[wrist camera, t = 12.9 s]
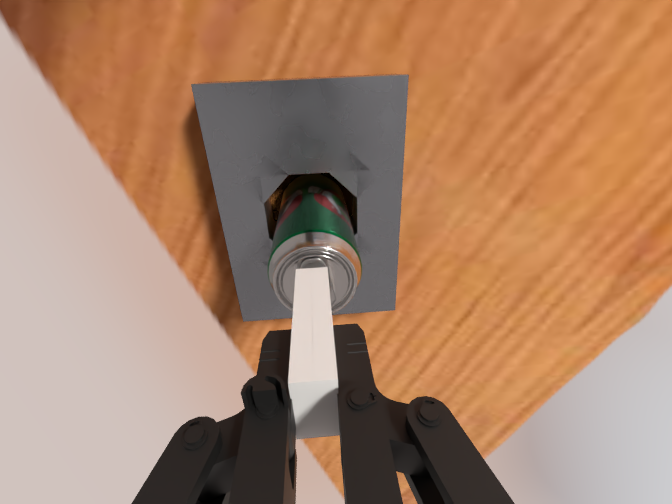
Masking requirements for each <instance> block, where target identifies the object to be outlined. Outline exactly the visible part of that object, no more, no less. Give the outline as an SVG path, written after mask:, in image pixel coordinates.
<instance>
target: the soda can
mask: <svg viewBox="0 0 672 504" xmlns="http://www.w3.org/2000/svg"><path fill="white" fill-rule="evenodd" d="M319 267H328V278H329V289H330V299H331V310H332V314H333V313H335V312H337V311H339V310H340V309H342V308H343V307H345V306H346V305H347V304H348V303H349V302H350V300H351V299H352V298H353V296H354V294H355V292H356V289H357V287H358V285H359V283H360V280H361V276H362V263H361V258H360V254H359V251H358V247H357V243H356V240H355V236H354V232H353V229H352V225H351V221H350V218H349V214H348V210H347V207H346V203H345V199H344V196H343V193H342V191H341V189H340V187H339V186H338V185H337V184H336V183H335V182H334V181H333V180H331V179H330V178H328V177H326V176H324V175H320V174H306V175H302V176H300V177H298V178H296V179H294V180H293V181H292V182H291V183H290V184H289V185H288V186H287V187H286V189H285V191H284V193H283V196H282V201H281V206H280V210H279V215H278V220H277V224H276V229H275V234H274V238H273V243H272V248H271V252H270V257H269V262H268V270H267V273H268V279H269V282H270V285H271V287H272V288H273V290H274V291H275V294H276V296H277V298H278V300H279V301H280V302H281V303H282V304H283V305H284V306H285V307H286V308H287V309H289V310H290V311H292V312H293V302H294V287H295V273H296V269H305V268H319Z"/></svg>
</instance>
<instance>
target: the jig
mask: <svg viewBox="0 0 672 504" xmlns="http://www.w3.org/2000/svg"><path fill="white" fill-rule="evenodd" d="M408 77H409V75H406V74H386V75H364V76H341V77H319V78H296V79H274V80H251V81H229V82H207V83H198V84H191V86H192V91H193V95H194V100H195V104H196V109H197V113H198V118H199V122H200V127H201V131H202V136H203V141H204V145H205V150H206V154H207V159H208V163H209V168H210V172H211V177H212V182H213V186H214V191H215V195H216V200H217V204H218V209H219V213H220V218H221V223H222V227H223V232H224V236H225V241H226V245H227V250H228V254H229V259H230V264H231V268H232V273H233V277H234V282H235V286H236V291H237V295H238V300H239V304H240V309H241V314H242V318H243V321H257V320H270V319H283V318H292V317H293V312H292V311H290V310H289V309H287V308H286V307H285V306H284V305H283V304H282V303H281V302H280V301H279V300H278V298H277V296H276V294H275V291H274V290H273V288H272V287H271V285H270V282H269V279H268V273H267V270H268V262H269V257H270V252H271V248H272V243H273V238H274V234H275V229H276V224H277V222H276V221H274V219H273V212H272V205H271V198H270V196H271V195H272V194H273V192H274V191H275V190H276V189H277V188H278V187H279V185H280V184H281V183H282V182H283V181H284V180H285V178H286V177H287V176H288V175H293V174H311V173H328V172H329V173H330V174H331V175H332V176H333V177H334V178H336V179H337V180H338V181H339V182H340V183H341V184H342V185H343V186H345V187H346V188H347V189H348V190H349V191H350V192H351V193H352V216H351V217H350V221H351V225H352V229H353V232H354V236H355V240H356V243H357V247H358V251H359V254H360V258H361V263H362V276H361V280H360V283H359V285H358V287H357V289H356V292H355V294H354V296H353V298H352V299H351V300H350V302H349V303H348V304H347V305H346V306H345V307H343V308H342V309H340V310H339V311H337V312H335V313H333V314H332V315H337V314H350V313H363V312H377V311H390V310H395V301H396V284H397V266H398V249H399V232H400V215H401V198H402V180H403V163H404V146H405V129H406V112H407V94H408Z"/></svg>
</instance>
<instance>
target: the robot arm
mask: <svg viewBox="0 0 672 504" xmlns="http://www.w3.org/2000/svg"><path fill="white" fill-rule="evenodd" d="M241 395H242V399H243V403H244V407H245V409H243V410H242V411H241V412H239V413H238V414H236V415H234V416H232V417H230V418H227V419H225V420H222V421H219V422H216V421H215V420H214V419H212V418H209V417H197V418H194V419H192V420H189V421H188V422H186V423H185V424H183V425H182V426H181V427H180V428H179V429H178V431H177V432H176V433H175V434H174V436H173V437H172V439H171V441H170V442H169V444H168V446H167V447H166V449H165V450H164V452H163V454H162V455H161V457H160V458H159V460H158V462H157V463H156V465H155V467H154V468H153V470H152V471H151V473H150V475H149V477H148V478H147V480H146V481H145V483H144V484H143V486H142V488H141V489H140V491H139V493H138V494H137V496H136V497H135V499H134V501H133V502H132V504H295V499H296V498H295V497H296V466H297V463H296V462H297V455H296V449H295V440H296V438H297V439H304V438H315V437H326V436H337V435H340V444H341V463H342V472H343V484H344V497H345V504H403V502H402V497H401V492H400V488H399V483H398V478H397V474H396V471H398V472H401V473H404V475H405V477H406V479H407V482H408V484H409V486H410V488H411V490H412V492H413V494H414V496H415V499H416V501H417V503H418V504H514V502H513V501H512V499H511V498H510V497H509V495H508V494H507V492H506V491H505V489H504V488H503V487H502V485H501V483H500V482H499V481H498V479H497V478H496V477H495V475H494V473H493V472H492V471H491V469H490V468H489V466H488V465H487V464H486V462H485V461H484V459H483V458H482V456H481V455H480V453H479V452H478V450H477V449H476V448H475V446H474V445H473V443H472V442H471V440H470V439H469V438H468V436H467V435H466V433H465V432H464V430H463V429H462V427H461V426H460V425H459V423H458V422H457V420H456V419H455V417H454V416H453V415H452V413H451V412H450V410H449V409H448V408H447V407H446V406H445V405H444V404H443V403H442V402H441V401H439V400H437V399H435V398H432V397H427V396H424V397H417V398H416V399H414V400H412V401H411V402H410V403H409V404H406V403H401V402H396V401H393V400H390V399H388V398H386V397H385V396H383V395H382V394H381V393H380V392H379V391H378V389H377V388H376V386H375V383H374V378H373V374H372V369H371V364H370V359H369V354H368V350H367V345H366V340H365V335H364V332H363V330H362V329H361V328H360V327H359V326H358V324H345V325H333V321H332V310H331V299H330V289H329V278H328V267H319V268H305V269H296V273H295V287H294V302H293V317H292V329H290V330H277V331H269V332H268V334H267V335H266V337H265V338H264V339H263V342H262V347H261V353H260V359H259V365H258V370H257V375H256V376H255V377H253V378H251V379H249V381H248V382H247V383H246V384H245V385H244V386H243V389H242V391H241Z"/></svg>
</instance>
